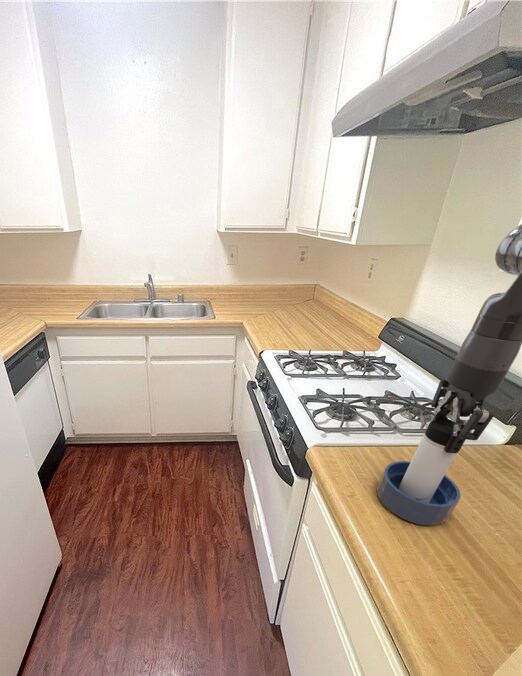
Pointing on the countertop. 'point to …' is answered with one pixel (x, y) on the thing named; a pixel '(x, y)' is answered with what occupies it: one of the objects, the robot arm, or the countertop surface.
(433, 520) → the bowl
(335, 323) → the countertop surface
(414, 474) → the travel mug
